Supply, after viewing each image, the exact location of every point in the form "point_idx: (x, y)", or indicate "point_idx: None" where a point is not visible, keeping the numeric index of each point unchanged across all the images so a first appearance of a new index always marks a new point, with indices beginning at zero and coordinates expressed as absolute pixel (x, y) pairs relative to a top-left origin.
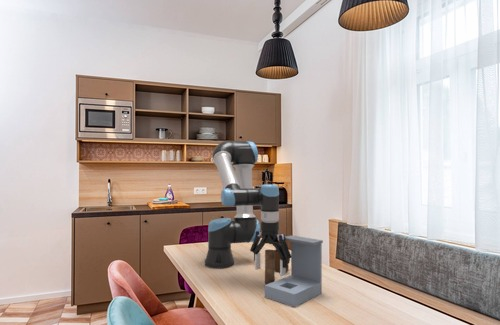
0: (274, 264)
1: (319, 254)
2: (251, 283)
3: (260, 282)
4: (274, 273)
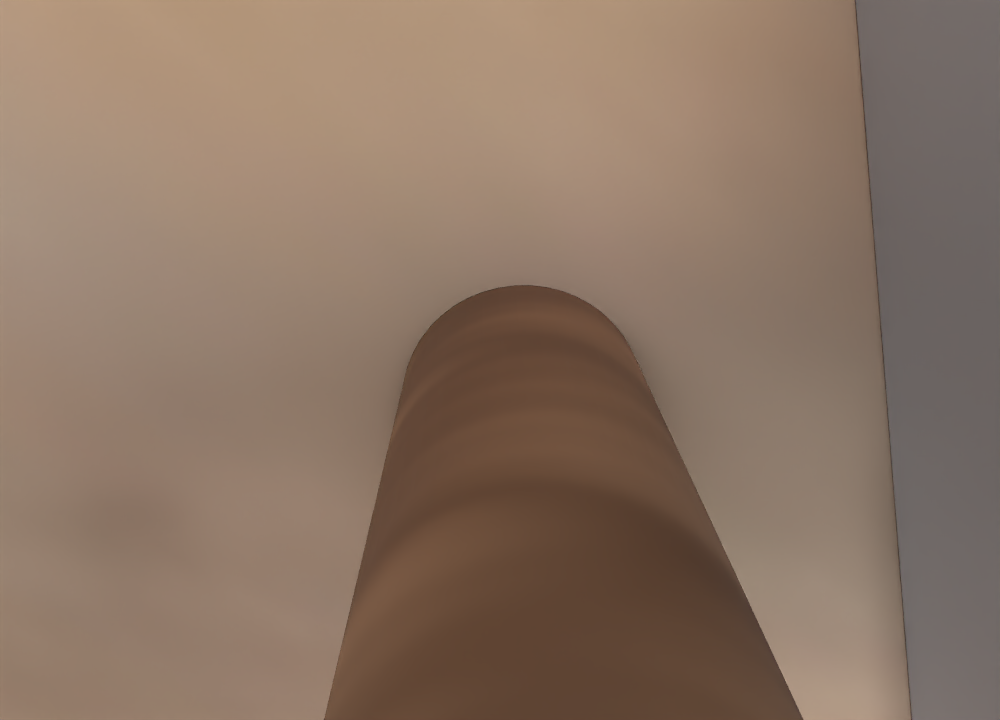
0: (793, 717)
1: None
2: (95, 605)
3: (135, 398)
4: (681, 475)
